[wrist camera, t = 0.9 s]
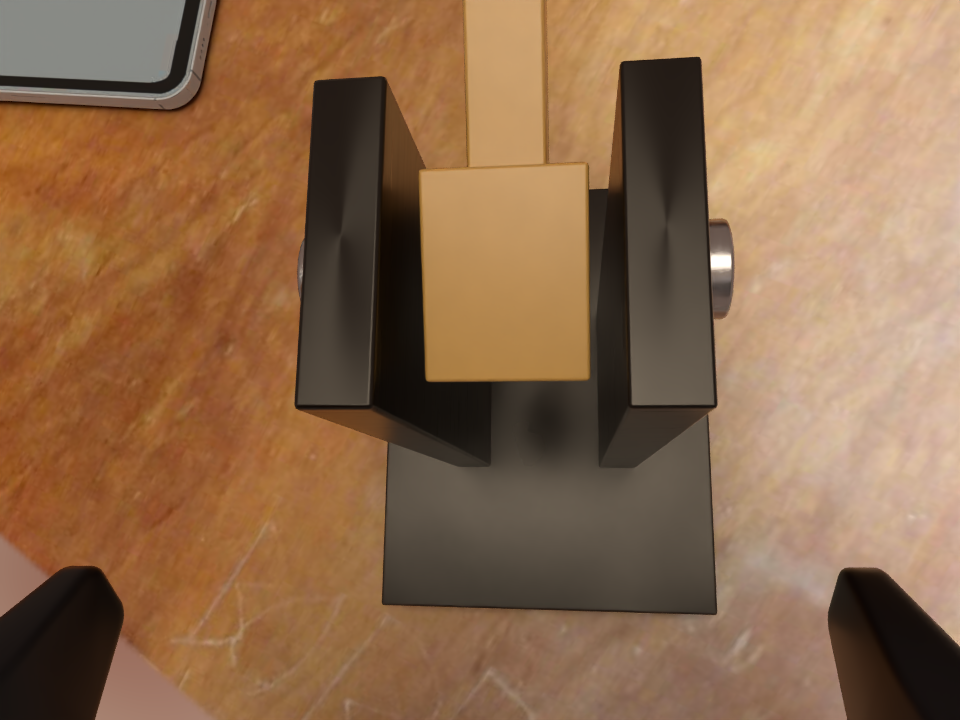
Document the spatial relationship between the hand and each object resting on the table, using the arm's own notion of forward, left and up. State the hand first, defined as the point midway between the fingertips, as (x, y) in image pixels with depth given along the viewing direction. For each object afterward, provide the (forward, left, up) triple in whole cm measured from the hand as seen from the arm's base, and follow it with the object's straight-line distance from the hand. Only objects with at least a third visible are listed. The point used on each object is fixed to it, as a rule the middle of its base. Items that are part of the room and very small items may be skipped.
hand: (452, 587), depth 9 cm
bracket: (+4, -2, -13) cm, 14 cm away
